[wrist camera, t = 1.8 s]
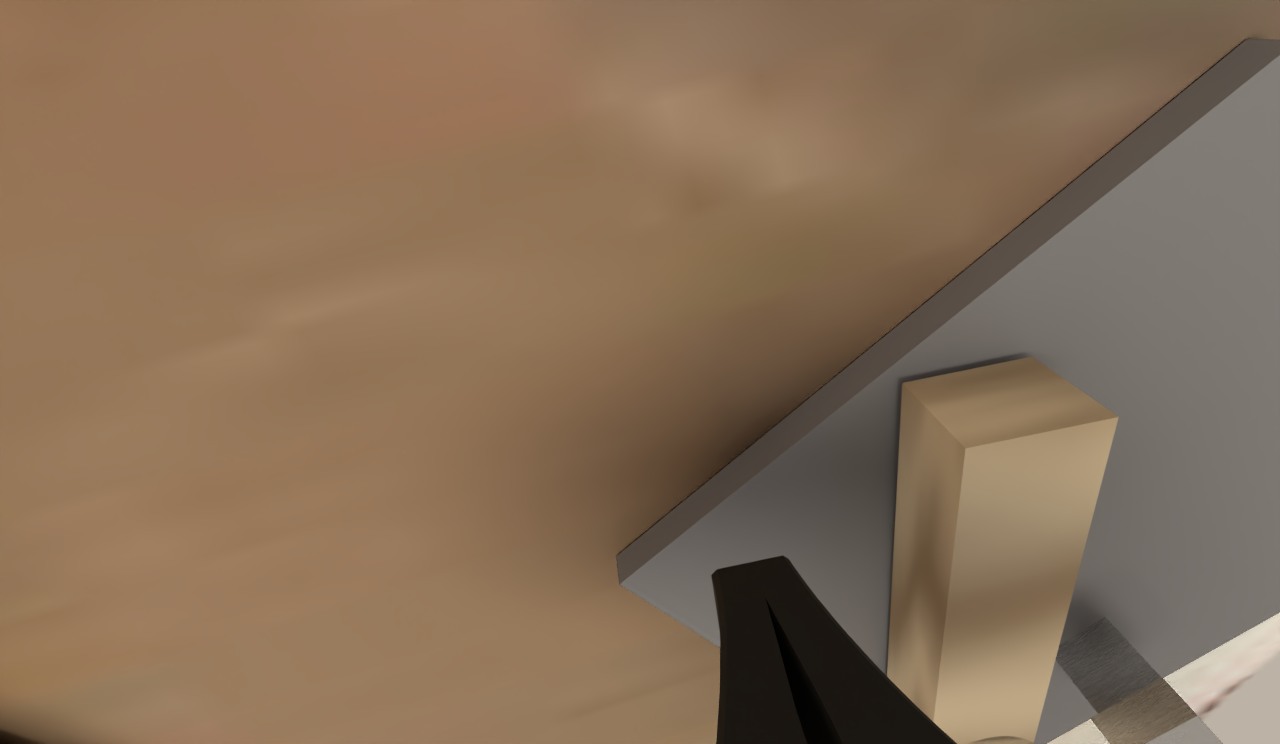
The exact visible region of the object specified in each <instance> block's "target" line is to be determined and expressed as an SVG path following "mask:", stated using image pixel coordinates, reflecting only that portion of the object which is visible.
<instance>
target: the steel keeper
mask: <svg viewBox="0 0 1280 744" xmlns="http://www.w3.org/2000/svg"><path fill="white" fill-rule="evenodd" d="M1056 661H1057V662H1058V664H1059V665H1060V666H1061V667H1062V669H1063V670H1064V671H1065V672H1066V674H1067V675H1068V676H1069V678H1070V679H1071V680H1072V681H1073V683H1074V684H1075V685H1076V686H1077V688H1078V689H1079V690H1080V692H1081V693H1082V694H1083V695H1084V697H1085V698H1086V699H1087V700H1088V702H1089V703H1090V704H1091V706H1092V707H1093V708H1094V709H1095V711H1096V712H1097V713H1098V714H1097V715H1095V716H1093V717H1091V719H1092V721H1093V722H1094V723H1095V725H1096V726H1097V727H1098V728H1099V730H1100V731H1101V732H1102V734H1103V735H1104V736H1105V738H1106V739H1107V740H1108V741H1109V743H1110V744H1223V743H1222V742H1221V741H1220V740H1219V739H1218V738H1217V737H1216V736H1215V734H1214V733H1213V732H1212V731H1211V730H1210V729H1209V728H1208V727H1207V726H1206V724H1205V723H1204V722H1203V721H1202V720H1201V719H1200V718H1199V717H1198V716H1197V715H1196V713H1195V712H1194V711H1193V710H1192V709H1191V708H1190V707H1189V706H1188V705H1187V704H1186V703H1185V702H1184V701H1183V699H1182V698H1181V697H1180V696H1179V695H1178V694H1177V693H1176V692H1175V691H1174V690H1173V689H1172V688H1171V687H1170V685H1169V684H1168V683H1167V682H1166V681H1165V680H1164V679H1163V678H1161V676H1160V675H1159V674H1158V673H1157V672H1156V671H1155V670H1154V669H1153V668H1152V667H1151V666H1150V665H1149V664H1148V662H1147V661H1146V660H1145V659H1144V658H1143V657H1142V656H1141V655H1140V654H1139V653H1138V652H1137V651H1136V649H1135V648H1134V647H1133V646H1132V645H1131V644H1130V643H1129V642H1128V641H1127V640H1126V639H1125V638H1124V637H1123V635H1122V634H1121V633H1120V632H1119V631H1118V630H1117V629H1116V628H1115V627H1114V626H1113V625H1112V624H1111V622H1110V621H1109V620H1108V619H1107V618H1106V617H1105V618H1103V619H1102V620H1100V621H1098V622H1097V623H1095V624H1094V625H1092V626H1090V627H1089V628H1087V629H1085V630H1084V631H1082V632H1080V633H1079V634H1077V635H1075V636H1074V637H1072V638H1070V639H1069V640H1067V641H1065V642H1064V643H1062V644H1060V645H1059V648H1058V652H1057V656H1056Z"/></svg>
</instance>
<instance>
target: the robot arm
mask: <svg viewBox="0 0 1280 744" xmlns="http://www.w3.org/2000/svg"><path fill="white" fill-rule="evenodd" d="M711 577H712V583H713V590H714V597H715V603H716V610H717V617H718V623H719V630H720V698H719V713H718V728H717V742H716V744H957V743H956V742H955V741H954V740H953V739H952V738H950V737H949V736H948V735H947V734H946V733H945V732H944V731H943V730H942V729H940V728H939V727H938V726H937V725H936V724H935V723H934V722H933V721H932V720H931V719H930V718H929V717H928V716H927V715H925V714H924V713H923V712H922V711H921V710H920V709H919V708H918V707H917V706H916V705H915V704H914V703H913V702H912V701H911V700H910V699H909V698H908V697H907V696H906V695H905V694H904V693H903V692H902V691H901V690H900V689H899V688H898V687H897V686H896V685H895V684H894V683H893V682H892V681H891V680H890V679H889V678H888V677H887V676H886V675H885V674H884V673H883V672H882V671H881V670H880V669H879V668H878V666H877V665H876V664H875V663H874V662H873V661H872V660H871V659H870V658H869V657H868V656H867V655H866V653H865V652H864V651H863V650H862V649H861V648H860V647H859V646H858V645H857V644H856V642H855V641H854V640H853V639H852V638H851V637H850V636H849V635H848V634H847V632H846V631H845V630H844V629H843V628H842V627H841V626H840V624H839V623H838V622H837V621H836V620H835V619H834V617H833V616H832V615H831V614H830V613H829V611H828V610H827V609H826V608H825V606H824V605H823V604H822V603H821V602H820V600H819V599H818V598H817V597H816V595H815V594H814V593H813V591H812V590H811V589H810V588H809V586H808V585H807V584H806V582H805V581H804V580H803V578H802V577H801V576H800V574H799V573H798V571H797V570H796V569H795V567H794V566H793V564H792V563H791V561H790V560H789V559H788V558H786V557H785V556H783V555H782V556H777V557H773V558H768V559H763V560H758V561H754V562H749V563H744V564H739V565H735V566H730V567H725V568H720V569H717V570H716V571H715V572H714V573H713V574H712V575H711Z"/></svg>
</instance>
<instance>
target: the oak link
mask: <svg viewBox="0 0 1280 744" xmlns="http://www.w3.org/2000/svg"><path fill="white" fill-rule="evenodd" d="M1118 418H1119V417H1118V416H1117V415H1115V414H1114V413H1112V412H1111V411H1109V410H1108V409H1107V408H1105V407H1104V406H1102V405H1101V404H1099V403H1098V402H1097V401H1095V400H1094V399H1092V398H1091V397H1089V396H1088V395H1087V394H1085V393H1084V392H1082V391H1081V390H1079V389H1078V388H1076V387H1075V386H1074V385H1072V384H1071V383H1069V382H1068V381H1066V380H1065V379H1064V378H1062V377H1061V376H1059V375H1058V374H1056V373H1055V372H1054V371H1052V370H1051V369H1049V368H1048V367H1046V366H1045V365H1044V364H1042V363H1041V362H1039V361H1038V360H1036V359H1035V358H1034V357H1028V358H1023V359H1018V360H1013V361H1008V362H1003V363H998V364H993V365H988V366H983V367H978V368H974V369H969V370H964V371H959V372H954V373H949V374H944V375H939V376H934V377H929V378H924V379H920V380H915V381H910V382H905V383H902V399H901V418H900V437H899V456H898V476H897V495H896V514H895V533H894V552H893V572H892V591H891V610H890V629H889V649H888V668H887V677H888V678H889V679H890V680H891V681H892V682H893V683H894V684H895V685H896V686H897V687H898V688H899V689H900V690H901V691H902V692H903V693H904V694H905V695H906V696H907V697H908V698H909V699H910V700H911V701H912V702H913V703H914V704H915V705H916V706H917V707H918V708H919V709H920V710H921V711H922V712H923V713H924V714H925V715H927V716H928V717H929V718H930V719H931V720H932V721H933V722H934V723H935V724H936V725H937V726H938V727H939V728H940V729H942V730H943V731H944V732H945V733H946V734H947V735H948V736H949V737H950V738H952V739H953V740H954V741H955V742H956V743H957V744H1034V740H1035V736H1036V733H1037V729H1038V725H1039V721H1040V717H1041V713H1042V709H1043V706H1044V702H1045V698H1046V694H1047V690H1048V686H1049V683H1050V679H1051V675H1052V671H1053V667H1054V663H1055V660H1056V656H1057V652H1058V648H1059V644H1060V640H1061V637H1062V633H1063V629H1064V625H1065V621H1066V617H1067V614H1068V610H1069V606H1070V602H1071V598H1072V594H1073V590H1074V587H1075V583H1076V579H1077V575H1078V571H1079V567H1080V564H1081V560H1082V556H1083V552H1084V548H1085V544H1086V541H1087V537H1088V533H1089V529H1090V525H1091V521H1092V518H1093V514H1094V510H1095V506H1096V502H1097V498H1098V495H1099V491H1100V487H1101V483H1102V479H1103V475H1104V471H1105V468H1106V464H1107V460H1108V456H1109V452H1110V448H1111V445H1112V441H1113V437H1114V433H1115V429H1116V425H1117V422H1118Z"/></svg>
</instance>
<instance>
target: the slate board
mask: <svg viewBox="0 0 1280 744" xmlns="http://www.w3.org/2000/svg"><path fill="white" fill-rule="evenodd" d="M1028 357H1034V358H1035V359H1036V360H1038V361H1039V362H1041V363H1042V364H1044V365H1045V366H1046V367H1048V368H1049V369H1051V370H1052V371H1054V372H1055V373H1056V374H1058V375H1059V376H1061V377H1062V378H1064V379H1065V380H1066V381H1068V382H1069V383H1071V384H1072V385H1074V386H1075V387H1076V388H1078V389H1079V390H1081V391H1082V392H1084V393H1085V394H1087V395H1088V396H1089V397H1091V398H1092V399H1094V400H1095V401H1097V402H1098V403H1099V404H1101V405H1102V406H1104V407H1105V408H1107V409H1108V410H1109V411H1111V412H1112V413H1114V414H1115V415H1117V416H1118V417H1119V418H1118V422H1117V425H1116V429H1115V433H1114V437H1113V441H1112V445H1111V448H1110V452H1109V456H1108V460H1107V464H1106V468H1105V471H1104V475H1103V479H1102V483H1101V487H1100V491H1099V495H1098V498H1097V502H1096V506H1095V510H1094V514H1093V518H1092V521H1091V525H1090V529H1089V533H1088V537H1087V541H1086V544H1085V548H1084V552H1083V556H1082V560H1081V564H1080V567H1079V571H1078V575H1077V579H1076V583H1075V587H1074V590H1073V594H1072V598H1071V602H1070V606H1069V610H1068V614H1067V617H1066V621H1065V625H1064V629H1063V633H1062V637H1061V640H1060V644H1062V643H1064V642H1065V641H1067V640H1069V639H1070V638H1072V637H1074V636H1075V635H1077V634H1079V633H1080V632H1082V631H1084V630H1085V629H1087V628H1089V627H1090V626H1092V625H1094V624H1095V623H1097V622H1098V621H1100V620H1102V619H1103V618H1105V617H1106V618H1107V619H1108V620H1109V621H1110V622H1111V624H1112V625H1113V626H1114V627H1115V628H1116V629H1117V630H1118V631H1119V632H1120V633H1121V634H1122V635H1123V637H1124V638H1125V639H1126V640H1127V641H1128V642H1129V643H1130V644H1131V645H1132V646H1133V647H1134V648H1135V649H1136V651H1137V652H1138V653H1139V654H1140V655H1141V656H1142V657H1143V658H1144V659H1145V660H1146V661H1147V662H1148V664H1149V665H1150V666H1151V667H1152V668H1153V669H1154V670H1155V671H1156V672H1157V673H1158V674H1159V675H1160V676H1161V678H1164V677H1166V676H1167V675H1169V674H1171V673H1173V672H1175V671H1176V670H1178V669H1180V668H1182V667H1183V666H1185V665H1187V664H1189V663H1191V662H1192V661H1194V660H1196V659H1198V658H1199V657H1201V656H1203V655H1205V654H1207V653H1208V652H1210V651H1212V650H1214V649H1215V648H1217V647H1219V646H1221V645H1223V644H1224V643H1226V642H1228V641H1230V640H1231V639H1233V638H1235V637H1237V636H1239V635H1240V634H1242V633H1244V632H1246V631H1247V630H1249V629H1251V628H1253V627H1255V626H1256V625H1258V624H1260V623H1262V622H1263V621H1265V620H1267V619H1269V618H1271V617H1272V616H1274V615H1276V614H1278V613H1279V612H1280V40H1268V39H1246V40H1245V41H1244V42H1243V43H1242V44H1240V45H1239V46H1238V47H1237V48H1235V49H1234V50H1233V51H1232V52H1231V53H1229V54H1228V55H1227V56H1226V57H1225V58H1223V59H1222V60H1221V61H1220V62H1218V63H1217V64H1216V65H1215V66H1214V67H1212V68H1211V69H1210V70H1209V71H1207V72H1206V73H1205V74H1204V75H1203V76H1201V77H1200V78H1199V79H1198V80H1196V81H1195V82H1194V83H1193V84H1192V85H1190V86H1189V87H1188V88H1187V89H1186V90H1184V91H1183V92H1182V93H1181V94H1179V95H1178V96H1177V97H1176V98H1175V99H1173V100H1172V101H1171V102H1170V103H1168V104H1167V105H1166V106H1165V107H1164V108H1162V109H1161V110H1160V111H1159V112H1157V113H1156V114H1155V115H1154V116H1153V117H1151V118H1150V119H1149V120H1148V121H1146V122H1145V123H1144V124H1143V125H1142V126H1140V127H1139V128H1138V129H1137V130H1136V131H1134V132H1133V133H1132V134H1131V135H1129V136H1128V137H1127V138H1126V139H1125V140H1123V141H1122V142H1121V143H1120V144H1118V145H1117V146H1116V147H1115V148H1114V149H1112V150H1111V151H1110V152H1109V153H1107V154H1106V155H1105V156H1104V157H1103V158H1101V159H1100V160H1099V161H1098V162H1096V163H1095V164H1094V165H1093V166H1092V167H1090V168H1089V169H1088V170H1087V171H1086V172H1084V173H1083V174H1082V175H1081V176H1079V177H1078V178H1077V179H1076V180H1075V181H1073V182H1072V183H1071V184H1070V185H1068V186H1067V187H1066V188H1065V189H1064V190H1062V191H1061V192H1060V193H1059V194H1057V195H1056V196H1055V197H1054V198H1053V199H1051V200H1050V201H1049V202H1048V203H1047V204H1045V205H1044V206H1043V207H1042V208H1040V209H1039V210H1038V211H1037V212H1036V213H1034V214H1033V215H1032V216H1031V217H1029V218H1028V219H1027V220H1026V221H1025V222H1023V223H1022V224H1021V225H1020V226H1018V227H1017V228H1016V229H1015V230H1014V231H1012V232H1011V233H1010V234H1009V235H1007V236H1006V237H1005V238H1004V239H1003V240H1001V241H1000V242H999V243H998V244H997V245H995V246H994V247H993V248H992V249H990V250H989V251H988V252H987V253H986V254H984V255H983V256H982V257H981V258H979V259H978V260H977V261H976V262H975V263H973V264H972V265H971V266H970V267H968V268H967V269H966V270H965V271H964V272H962V273H961V274H960V275H959V276H957V277H956V278H955V279H954V280H953V281H951V282H950V283H949V284H948V285H947V286H945V287H944V288H943V289H942V290H940V291H939V292H938V293H937V294H936V295H934V296H933V297H932V298H931V299H929V300H928V301H927V302H926V303H925V304H923V305H922V306H921V307H920V308H918V309H917V310H916V311H915V312H914V313H912V314H911V315H910V316H909V317H908V318H906V319H905V320H904V321H903V322H901V323H900V324H899V325H898V326H897V327H895V328H894V329H893V330H892V331H890V332H889V333H888V334H887V335H886V336H884V337H883V338H882V339H881V340H879V341H878V342H877V343H876V344H875V345H873V346H872V347H871V348H870V349H868V350H867V351H866V352H865V353H864V354H862V355H861V356H860V357H859V358H858V359H856V360H855V361H854V362H853V363H851V364H850V365H849V366H848V367H847V368H845V369H844V370H843V371H842V372H840V373H839V374H838V375H837V376H836V377H834V378H833V379H832V380H831V381H829V382H828V383H827V384H826V385H825V386H823V387H822V388H821V389H820V390H818V391H817V392H816V393H815V394H814V395H812V396H811V397H810V398H809V399H808V400H806V401H805V402H804V403H803V404H801V405H800V406H799V407H798V408H797V409H795V410H794V411H793V412H792V413H790V414H789V415H788V416H787V417H786V418H784V419H783V420H782V421H781V422H779V423H778V424H777V425H776V426H775V427H773V428H772V429H771V430H770V431H768V432H767V433H766V434H765V435H764V436H762V437H761V438H760V439H759V440H758V441H756V442H755V443H754V444H753V445H751V446H750V447H749V448H748V449H747V450H745V451H744V452H743V453H742V454H740V455H739V456H738V457H737V458H736V459H734V460H733V461H732V462H731V463H729V464H728V465H727V466H726V467H725V468H723V469H722V470H721V471H720V472H719V473H717V474H716V475H715V476H714V477H712V478H711V479H710V480H709V481H708V482H706V483H705V484H704V485H703V486H701V487H700V488H699V489H698V490H697V491H695V492H694V493H693V494H692V495H690V496H689V497H688V498H687V499H686V500H684V501H683V502H682V503H681V504H679V505H678V506H677V507H676V508H675V509H673V510H672V511H671V512H670V513H669V514H667V515H666V516H665V517H664V518H662V519H661V520H660V521H659V522H658V523H656V524H655V525H654V526H653V527H651V528H650V529H649V530H648V531H647V532H645V533H644V534H643V535H642V536H640V537H639V538H638V539H637V540H636V541H634V542H633V543H632V544H631V545H629V546H628V547H627V548H626V549H625V550H623V551H622V552H621V553H620V554H619V555H617V556H616V559H617V568H618V576H619V585H621V586H623V587H624V588H626V589H627V590H629V591H631V592H632V593H634V594H635V595H637V596H639V597H640V598H642V599H643V600H645V601H646V602H648V603H650V604H651V605H653V606H654V607H656V608H658V609H659V610H661V611H662V612H664V613H665V614H667V615H669V616H670V617H672V618H673V619H675V620H677V621H678V622H680V623H681V624H683V625H685V626H686V627H688V628H689V629H691V630H692V631H694V632H696V633H697V634H699V635H700V636H702V637H704V638H705V639H707V640H708V641H710V642H711V643H713V644H715V645H716V646H718V647H719V648H720V630H719V623H718V617H717V610H716V603H715V597H714V590H713V583H712V577H711V575H712V574H713V573H714V572H715V571H716V570H717V569H720V568H725V567H730V566H735V565H739V564H744V563H749V562H754V561H758V560H763V559H768V558H773V557H777V556H782V555H783V556H785V557H786V558H788V559H789V560H790V561H791V563H792V564H793V566H794V567H795V569H796V570H797V571H798V573H799V574H800V576H801V577H802V578H803V580H804V581H805V582H806V584H807V585H808V586H809V588H810V589H811V590H812V591H813V593H814V594H815V595H816V597H817V598H818V599H819V600H820V602H821V603H822V604H823V605H824V606H825V608H826V609H827V610H828V611H829V613H830V614H831V615H832V616H833V617H834V619H835V620H836V621H837V622H838V623H839V624H840V626H841V627H842V628H843V629H844V630H845V631H846V632H847V634H848V635H849V636H850V637H851V638H852V639H853V640H854V641H855V642H856V644H857V645H858V646H859V647H860V648H861V649H862V650H863V651H864V652H865V653H866V655H867V656H868V657H869V658H870V659H871V660H872V661H873V662H874V663H875V664H876V665H877V666H878V668H879V669H880V670H881V671H882V672H883V673H884V674H885V675H886V676H887V668H888V649H889V629H890V610H891V591H892V572H893V552H894V533H895V514H896V495H897V476H898V456H899V437H900V418H901V399H902V383H905V382H910V381H915V380H920V379H924V378H929V377H934V376H939V375H944V374H949V373H954V372H959V371H964V370H969V369H974V368H978V367H983V366H988V365H993V364H998V363H1003V362H1008V361H1013V360H1018V359H1023V358H1028ZM1060 644H1059V645H1060ZM1097 714H1098V713H1097V712H1096V711H1095V709H1094V708H1093V707H1092V706H1091V704H1090V703H1089V702H1088V700H1087V699H1086V698H1085V697H1084V695H1083V694H1082V693H1081V692H1080V690H1079V689H1078V688H1077V686H1076V685H1075V684H1074V683H1073V681H1072V680H1071V679H1070V678H1069V676H1068V675H1067V674H1066V672H1065V671H1064V670H1063V669H1062V667H1061V666H1060V665H1059V664H1058V662H1057V661H1056V660H1055V663H1054V667H1053V671H1052V675H1051V679H1050V683H1049V686H1048V690H1047V694H1046V698H1045V702H1044V706H1043V709H1042V713H1041V717H1040V721H1039V725H1038V729H1037V733H1036V736H1035V740H1034V744H1046V743H1048V742H1050V741H1052V740H1054V739H1055V738H1057V737H1059V736H1061V735H1062V734H1064V733H1066V732H1068V731H1070V730H1071V729H1073V728H1075V727H1077V726H1078V725H1080V724H1082V723H1084V722H1086V721H1087V720H1089V719H1091V717H1093V716H1095V715H1097Z"/></svg>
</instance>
